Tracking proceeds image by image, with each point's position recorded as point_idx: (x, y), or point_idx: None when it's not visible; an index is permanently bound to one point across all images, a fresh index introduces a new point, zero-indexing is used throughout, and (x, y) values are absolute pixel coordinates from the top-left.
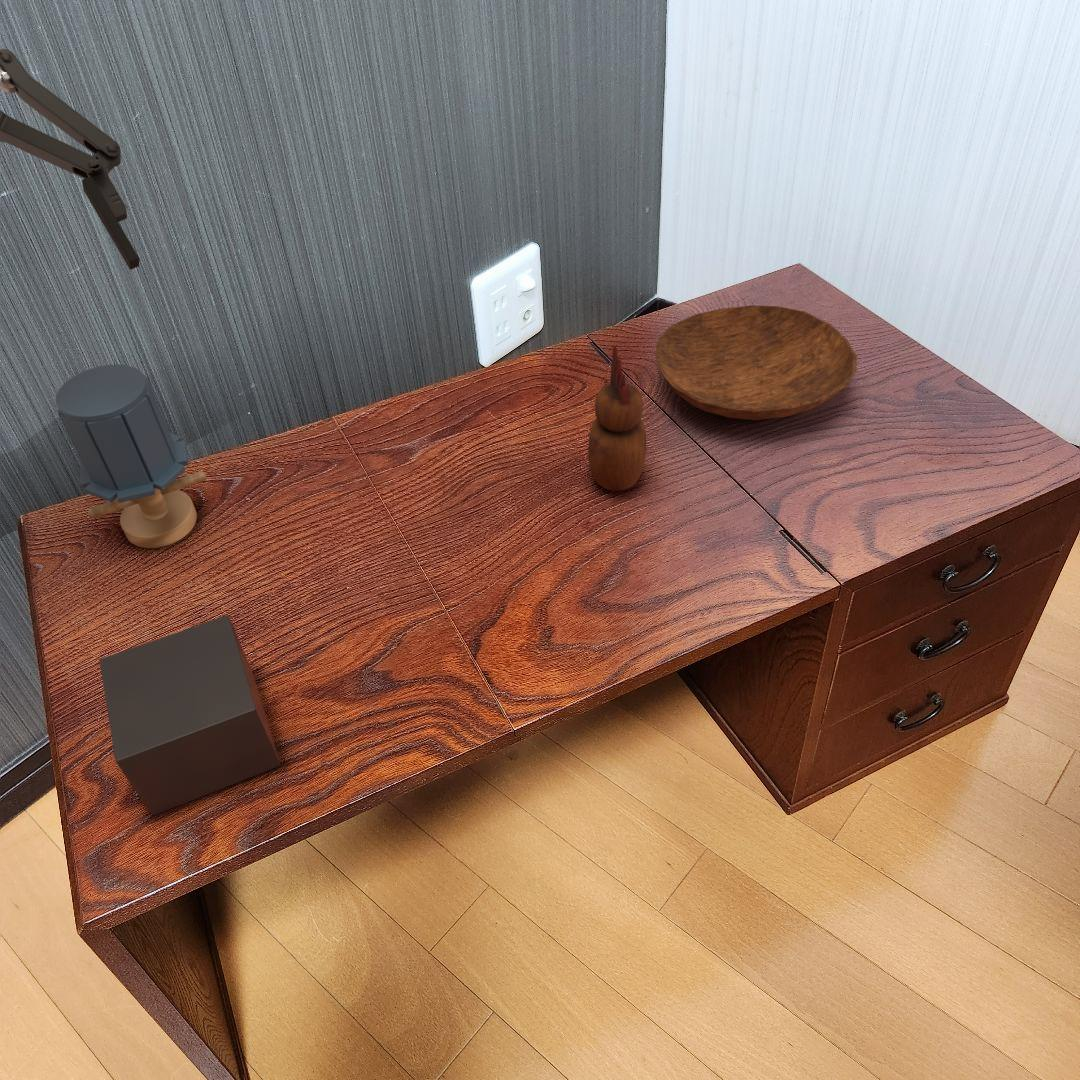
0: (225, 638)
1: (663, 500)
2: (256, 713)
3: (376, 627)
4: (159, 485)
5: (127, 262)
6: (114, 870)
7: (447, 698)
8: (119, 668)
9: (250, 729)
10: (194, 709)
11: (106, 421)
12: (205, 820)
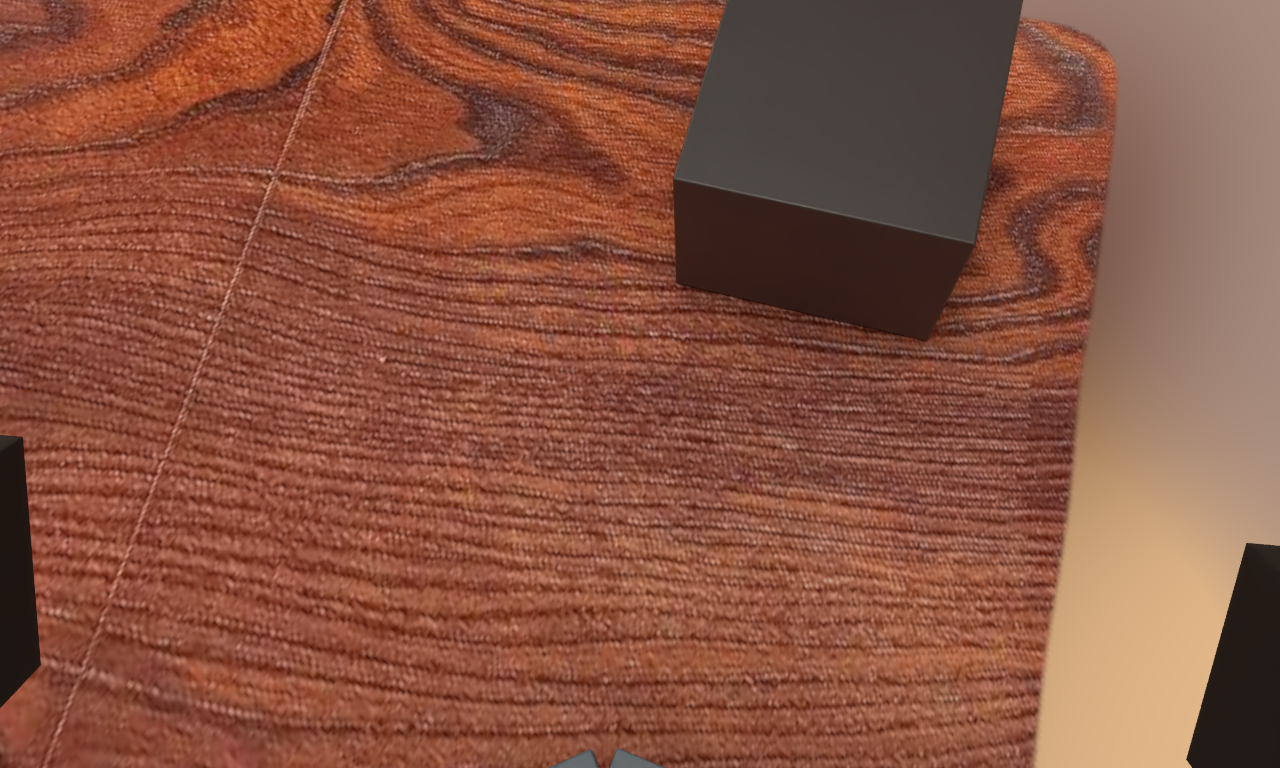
0: (710, 122)
1: None
2: None
3: (409, 227)
4: (592, 755)
5: (15, 594)
6: (1061, 78)
7: (419, 17)
8: (943, 190)
9: None
10: (845, 9)
11: None
12: None
